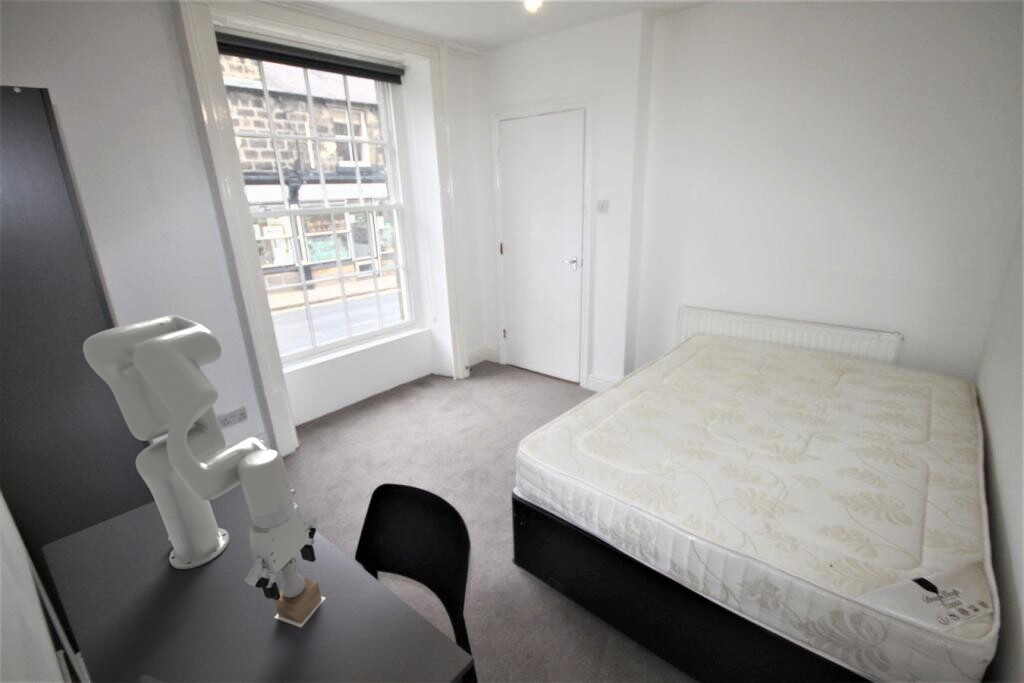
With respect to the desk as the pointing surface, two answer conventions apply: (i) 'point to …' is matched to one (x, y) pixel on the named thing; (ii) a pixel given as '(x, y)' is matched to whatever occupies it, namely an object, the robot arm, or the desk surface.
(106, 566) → the desk surface
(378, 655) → the desk surface
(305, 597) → the walnut block
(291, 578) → the rook chess piece
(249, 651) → the desk surface
